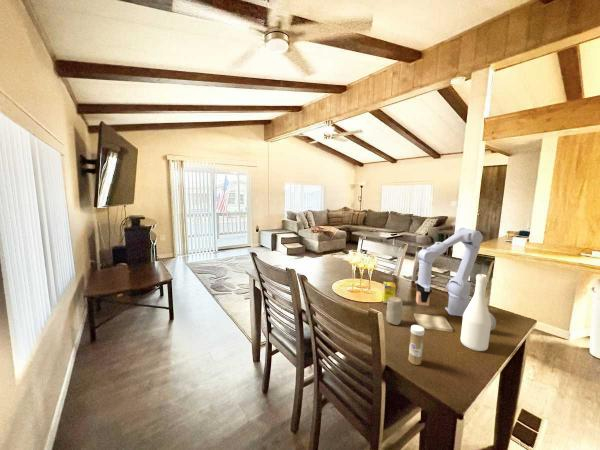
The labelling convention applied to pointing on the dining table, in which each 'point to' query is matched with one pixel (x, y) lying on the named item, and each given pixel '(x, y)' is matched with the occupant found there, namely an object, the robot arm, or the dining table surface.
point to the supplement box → (388, 291)
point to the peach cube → (418, 299)
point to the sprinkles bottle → (416, 344)
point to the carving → (394, 310)
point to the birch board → (433, 322)
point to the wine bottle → (477, 319)
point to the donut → (492, 322)
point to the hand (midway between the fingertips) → (422, 299)
